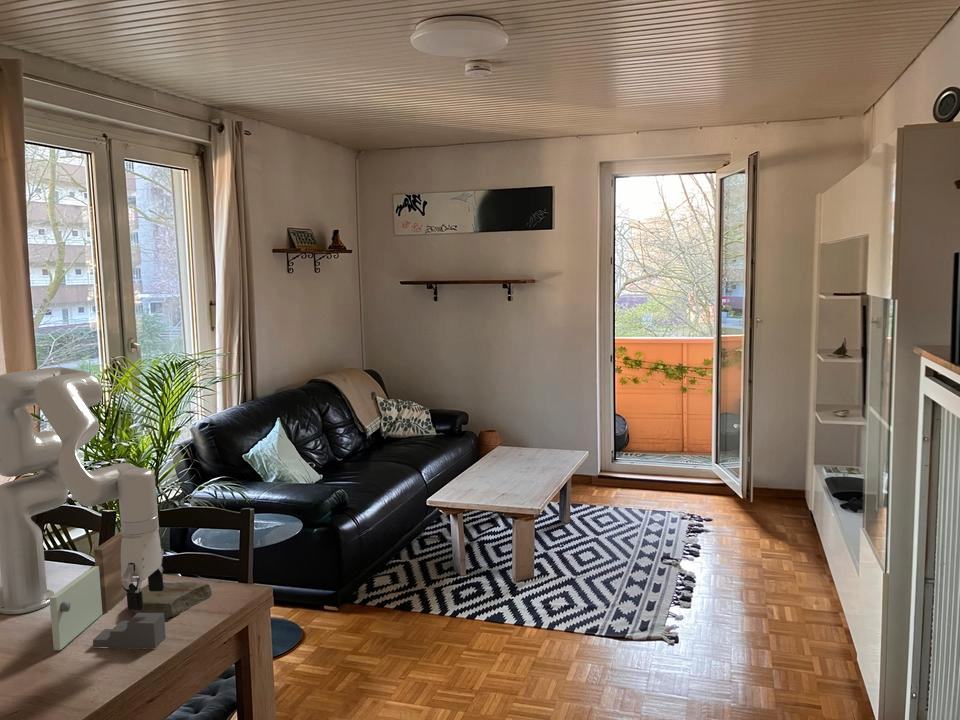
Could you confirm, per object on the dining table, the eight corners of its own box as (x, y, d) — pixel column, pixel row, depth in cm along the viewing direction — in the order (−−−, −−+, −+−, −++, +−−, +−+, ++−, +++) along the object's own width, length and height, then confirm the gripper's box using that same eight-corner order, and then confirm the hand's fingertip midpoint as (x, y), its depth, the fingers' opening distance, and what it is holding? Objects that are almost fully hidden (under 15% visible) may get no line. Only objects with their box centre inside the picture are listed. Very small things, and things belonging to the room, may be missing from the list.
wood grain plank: (98, 612, 188) (94, 549, 186) (126, 589, 202) (122, 530, 200) (106, 612, 188) (102, 549, 186) (133, 589, 202) (129, 530, 200)
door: (53, 650, 169) (49, 597, 168) (96, 613, 187) (92, 566, 185) (65, 650, 169) (61, 597, 168) (107, 613, 187) (103, 566, 185)
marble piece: (213, 595, 198) (212, 580, 198) (184, 622, 184) (183, 605, 183) (152, 592, 201) (151, 577, 200) (118, 618, 186) (117, 602, 186)
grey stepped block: (93, 648, 171) (91, 622, 170) (105, 637, 176) (103, 612, 175) (155, 649, 171) (153, 623, 170) (165, 638, 176) (164, 613, 175)
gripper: (142, 513, 178) (148, 584, 180) (102, 539, 161) (109, 617, 163) (174, 512, 178) (179, 583, 180) (137, 538, 161) (144, 617, 163)
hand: (146, 599), depth 172 cm, fingers open, 9 cm apart
